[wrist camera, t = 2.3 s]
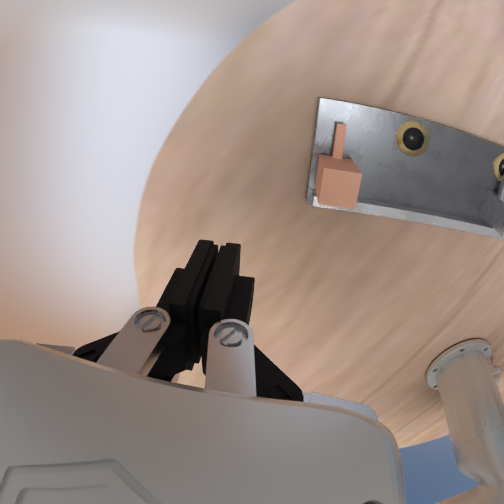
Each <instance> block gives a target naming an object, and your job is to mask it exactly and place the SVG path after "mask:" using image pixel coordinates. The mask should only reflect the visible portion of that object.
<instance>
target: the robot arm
mask: <svg viewBox="0 0 504 504" xmlns="http://www.w3.org/2000/svg"><path fill="white" fill-rule="evenodd" d="M240 249H241V245H240V244H235V243H226V246H221V247H220V250H219V253H218V245H214V242H213V241H209V240H199V241H198V243H197V245H196V247H195V249H194V251H193V253H192V255H191V257H190V259H189V261H188V263H187V265H186V267H185V269H182V268H176V270H175V271H174V273H173V275H172V277H171V279H170V281H169V283H168V284H167V286H166V288H165V290H164V292H163V294H162V296H161V298H160V300H159V302H158V304H157V306H156V307H146V308H142V309H140V310H138V311H137V312H135V313H134V314H133V315H132V316H131V318H130V319H129V320H128V322H127V323H126V324H125V325H124V327H123V328H122V329H121V331H119V332H117V333H114V334H112V335H109V336H107V337H104V338H102V339H99V340H97V341H94V342H92V343H89V344H86V345H84V346H82V347H80V348H78V349H77V350H75V348H74V347H68V346H57V345H47V344H37V343H36V344H35V343H31V342H27V341H22V340H15V339H0V504H407V503H406V489H405V478H404V471H403V466H402V460H401V456H400V452H399V448H398V445H397V443H396V440H395V438H394V436H393V434H392V433H391V432H390V430H389V429H388V428H387V427H386V426H384V425H383V424H382V423H380V422H378V420H377V415H376V413H375V411H374V410H373V409H372V408H370V407H369V406H367V405H364V404H361V403H356V402H352V401H348V400H343V399H339V398H335V397H331V396H327V395H323V394H320V393H316V392H312V394H309V393H305V392H302V391H301V389H300V388H299V387H298V386H297V385H296V384H295V383H294V382H293V381H292V380H291V379H290V378H289V377H288V376H287V375H285V374H284V373H283V372H282V371H281V370H280V369H279V368H278V367H277V366H276V365H275V364H274V363H273V362H272V361H271V360H270V359H268V358H267V357H266V356H265V355H264V354H263V353H262V352H261V351H260V350H259V349H258V348H257V347H256V346H255V345H254V340H253V332H252V329H251V328H250V327H249V321H250V315H251V309H252V302H253V293H254V282H255V278H253V277H245V276H239V268H240ZM201 356H202V368H203V373H204V374H205V376H206V379H205V389H204V388H198V387H193V386H188V385H183V384H178V383H177V381H178V379H179V373H180V372H182V371H184V370H192V369H193V366H194V363H199V361H200V358H201ZM491 356H492V349H491V347H490V345H489V343H488V342H487V341H485V340H481V339H472V340H467V341H464V342H461V343H459V344H457V345H455V346H453V347H451V348H449V349H448V350H446V351H445V352H443V353H442V354H441V355H440V356H438V357H437V358H436V359H435V360H434V361H433V363H432V364H431V365H430V367H429V369H428V371H427V373H426V380H427V384H428V386H429V387H430V388H432V389H434V390H439V393H440V397H441V401H442V405H443V408H444V412H445V416H446V420H447V424H448V429H449V433H450V438H451V442H452V446H453V451H454V456H455V461H456V465H457V467H458V469H459V470H460V471H461V472H462V473H463V474H465V475H466V476H469V477H470V478H473V479H474V480H476V481H477V482H478V484H477V485H476V486H475V487H473V488H471V489H469V490H468V491H465V492H463V493H461V494H458V495H456V496H453V497H451V498H448V499H445V500H443V501H440V502H438V503H435V504H504V403H503V400H502V397H501V394H500V392H499V389H498V386H497V384H496V383H497V382H498V381H499V374H498V373H500V372H501V369H502V368H501V366H494V367H493V366H492V363H491V361H490V359H491Z"/></svg>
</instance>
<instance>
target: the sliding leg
mask: <svg viewBox="0 0 504 504" xmlns="http://www.w3.org/2000/svg"><path fill="white" fill-rule="evenodd" d="M346 128H347V125H346V124H343V123H337V124H336V131H335V138H334V145H333V152H332V156H329V155H322V154H319V160H318V167H317V174H316V181H315V189H316V195H317V200H318V204H320V205H327V206H334V207H341V208H348V209H355V207H356V202H357V198H358V193H359V188H360V183H361V178H362V173H361V171H360V170H359V168H358V167H357V165H356V164H355V162H354V161H353V160H352V159H348V158H342V154H343V148H344V141H345V135H346Z"/></svg>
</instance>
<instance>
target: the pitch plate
mask: <svg viewBox="0 0 504 504" xmlns="http://www.w3.org/2000/svg"><path fill="white" fill-rule="evenodd" d="M337 123H343V124H346V125H347V128H346V135H345V141H344V148H343V154H342V158H348V159H352V160H353V161H354V162H355V164H356V165H357V167H358V168H359V170H360V171H361V173H362V178H361V183H360V188H359V193H358V198H357V202H356V207H355V209H348V208H341V207H334V206H327V205H320V204H318V200H317V195H316V189H315V181H316V174H317V167H318V160H319V154H322V155H329V156H332V152H333V145H334V138H335V131H336V124H337ZM306 204H312V205H313V206H314V207H321V208H328V209H336V210H343V211H350V212H357V213H363V214H370V215H376V216H382V217H389V218H395V219H401V220H407V221H412V222H418V223H424V224H429V225H435V226H440V227H445V228H451V229H456V230H461V231H466V232H471V233H476V234H481V235H485V236H490V237H495V238H499V239H504V147H502V146H500V145H498V144H495V143H493V142H490V141H487V140H485V139H482V138H480V137H477V136H474V135H471V134H469V133H466V132H463V131H460V130H457V129H454V128H451V127H448V126H445V125H441V124H438V123H435V122H431V121H428V120H424V119H421V118H417V117H414V116H410V115H406V114H402V113H398V112H394V111H390V110H385V109H381V108H376V107H372V106H367V105H362V104H357V103H352V102H346V101H340V100H334V99H328V98H322V97H319V98H318V107H317V116H316V124H315V133H314V141H313V148H312V156H311V164H310V171H309V178H308V185H307V192H306Z"/></svg>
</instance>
